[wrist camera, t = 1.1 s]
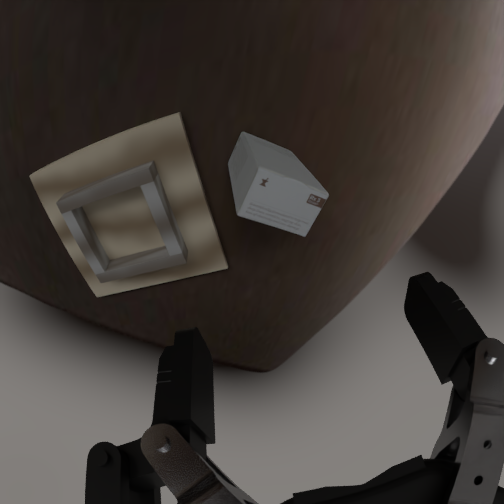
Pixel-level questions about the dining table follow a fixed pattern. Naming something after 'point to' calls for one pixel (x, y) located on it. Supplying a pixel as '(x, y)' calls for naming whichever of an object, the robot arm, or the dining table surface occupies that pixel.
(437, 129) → the dining table surface
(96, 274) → the square frame tray
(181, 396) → the robot arm
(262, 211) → the skincare box
